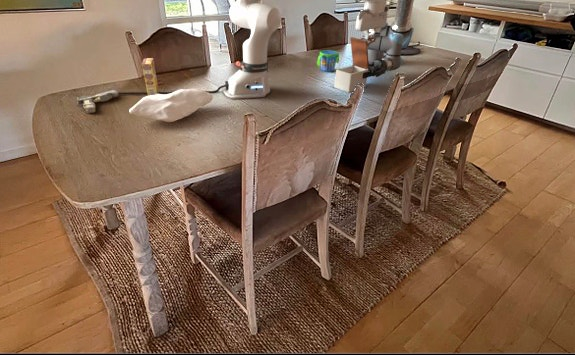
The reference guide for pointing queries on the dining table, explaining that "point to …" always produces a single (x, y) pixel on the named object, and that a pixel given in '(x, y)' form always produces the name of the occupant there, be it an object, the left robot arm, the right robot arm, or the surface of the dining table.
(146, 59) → the candy box
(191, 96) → the crumpled cloth
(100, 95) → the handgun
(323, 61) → the snack cup
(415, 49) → the grey round tray
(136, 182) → the dining table surface
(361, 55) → the lid
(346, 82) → the chest
